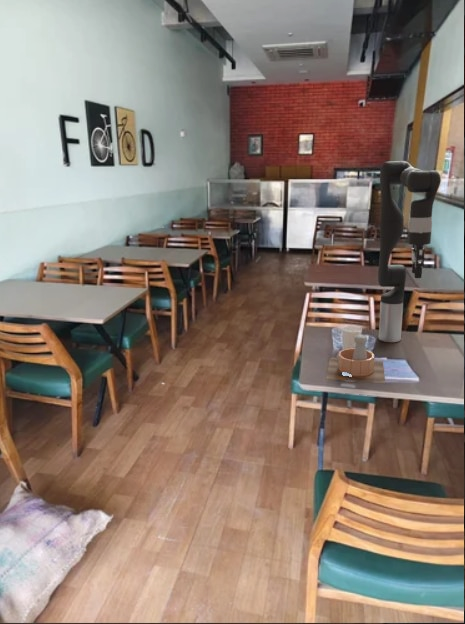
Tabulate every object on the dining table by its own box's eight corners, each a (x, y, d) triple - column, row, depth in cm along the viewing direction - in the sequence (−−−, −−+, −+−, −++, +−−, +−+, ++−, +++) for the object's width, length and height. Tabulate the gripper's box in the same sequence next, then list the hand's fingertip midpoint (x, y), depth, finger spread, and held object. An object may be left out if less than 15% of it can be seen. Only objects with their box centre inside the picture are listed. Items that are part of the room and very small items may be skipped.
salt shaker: (368, 373, 153) (370, 339, 149) (351, 372, 154) (353, 338, 150) (366, 366, 158) (368, 333, 155) (350, 366, 159) (351, 333, 156)
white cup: (342, 355, 175) (343, 332, 172) (340, 348, 182) (340, 326, 180) (362, 355, 174) (363, 332, 171) (359, 348, 181) (360, 325, 178)
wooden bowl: (339, 361, 166) (339, 347, 165) (373, 364, 163) (373, 349, 161) (337, 375, 155) (337, 359, 153) (373, 378, 151) (374, 362, 150)
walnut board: (329, 359, 171) (330, 357, 171) (382, 362, 165) (382, 361, 165) (326, 380, 153) (326, 378, 152) (385, 385, 147) (385, 383, 147)
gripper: (406, 228, 158) (403, 271, 163) (410, 232, 145) (407, 279, 150) (428, 228, 156) (425, 271, 161) (434, 232, 143) (430, 279, 147)
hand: (416, 275), depth 155 cm, fingers open, 8 cm apart
